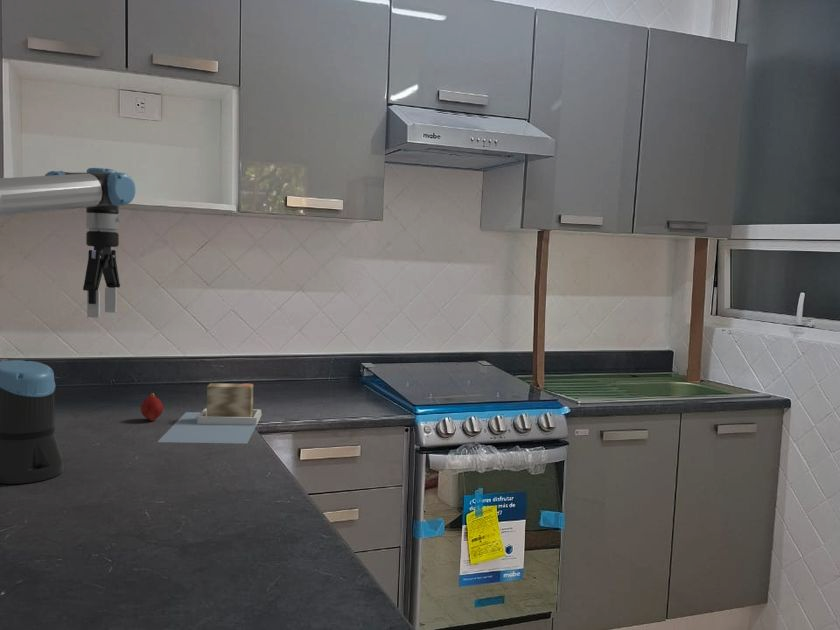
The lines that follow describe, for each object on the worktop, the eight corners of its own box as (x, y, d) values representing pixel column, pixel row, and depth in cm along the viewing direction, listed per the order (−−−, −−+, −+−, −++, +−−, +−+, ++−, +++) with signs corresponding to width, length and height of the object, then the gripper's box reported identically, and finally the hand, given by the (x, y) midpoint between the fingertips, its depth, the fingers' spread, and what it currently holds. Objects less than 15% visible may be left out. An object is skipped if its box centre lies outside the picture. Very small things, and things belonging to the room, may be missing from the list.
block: (206, 421, 211) (207, 385, 210) (209, 417, 216) (210, 382, 215) (250, 422, 212) (251, 386, 211) (252, 418, 217) (253, 383, 216)
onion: (136, 421, 209) (136, 393, 209) (152, 418, 214) (152, 390, 214) (151, 424, 207) (151, 396, 206) (167, 421, 212) (167, 392, 211)
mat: (247, 444, 190) (247, 443, 190) (157, 443, 188) (157, 442, 188) (262, 414, 224) (262, 413, 224) (186, 413, 222) (186, 412, 222)
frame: (256, 425, 210) (256, 418, 210) (197, 424, 208) (197, 417, 208) (261, 416, 221) (261, 409, 221) (204, 415, 219) (204, 408, 219)
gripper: (102, 230, 179) (101, 319, 181) (131, 232, 204) (131, 310, 206) (69, 229, 178) (69, 319, 180) (103, 231, 203) (102, 310, 205)
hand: (102, 314), depth 193 cm, fingers open, 13 cm apart
